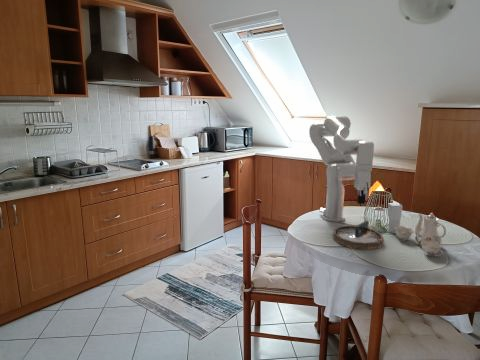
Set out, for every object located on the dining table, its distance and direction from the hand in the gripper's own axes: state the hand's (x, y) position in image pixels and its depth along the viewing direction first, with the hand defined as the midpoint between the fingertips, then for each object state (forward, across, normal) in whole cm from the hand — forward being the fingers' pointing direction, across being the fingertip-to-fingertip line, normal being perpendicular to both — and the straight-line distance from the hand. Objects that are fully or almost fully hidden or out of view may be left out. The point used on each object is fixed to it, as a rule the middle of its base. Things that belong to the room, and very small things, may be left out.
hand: (361, 203), depth 177 cm
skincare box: (+16, -5, +18) cm, 25 cm away
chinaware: (+17, +15, +25) cm, 33 cm away
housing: (+16, +8, -3) cm, 18 cm away
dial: (+15, +8, -3) cm, 17 cm away
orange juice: (+16, -28, +20) cm, 38 cm away
